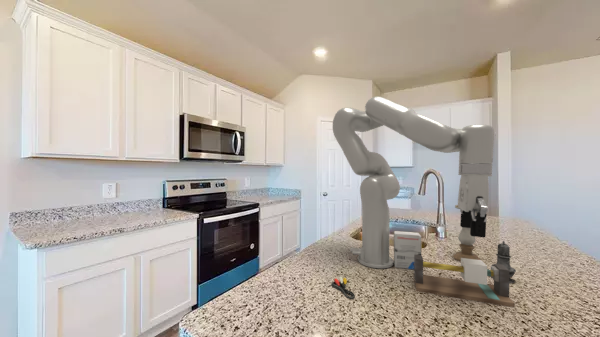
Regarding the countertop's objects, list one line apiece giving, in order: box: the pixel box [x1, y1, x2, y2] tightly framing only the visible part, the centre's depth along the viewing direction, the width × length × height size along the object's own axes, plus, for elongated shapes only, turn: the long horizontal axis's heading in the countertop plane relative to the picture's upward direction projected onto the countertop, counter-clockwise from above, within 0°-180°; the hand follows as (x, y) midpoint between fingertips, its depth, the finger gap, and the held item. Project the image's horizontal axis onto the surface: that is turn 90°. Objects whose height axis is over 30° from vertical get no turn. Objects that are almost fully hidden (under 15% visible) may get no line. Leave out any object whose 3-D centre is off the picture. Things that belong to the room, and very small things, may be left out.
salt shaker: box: [490, 240, 517, 284], centre depth 76 cm, size 6×6×12 cm
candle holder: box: [452, 204, 482, 263], centre depth 92 cm, size 9×9×20 cm
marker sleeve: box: [460, 258, 488, 285], centre depth 67 cm, size 5×4×5 cm
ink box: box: [393, 230, 422, 270], centre depth 85 cm, size 9×5×12 cm, turn 72°
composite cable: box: [331, 275, 356, 300], centre depth 68 cm, size 10×5×2 cm, turn 8°
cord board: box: [412, 254, 516, 308], centre depth 69 cm, size 22×10×8 cm, turn 69°
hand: (471, 231), depth 68 cm, fingers open, 9 cm apart
